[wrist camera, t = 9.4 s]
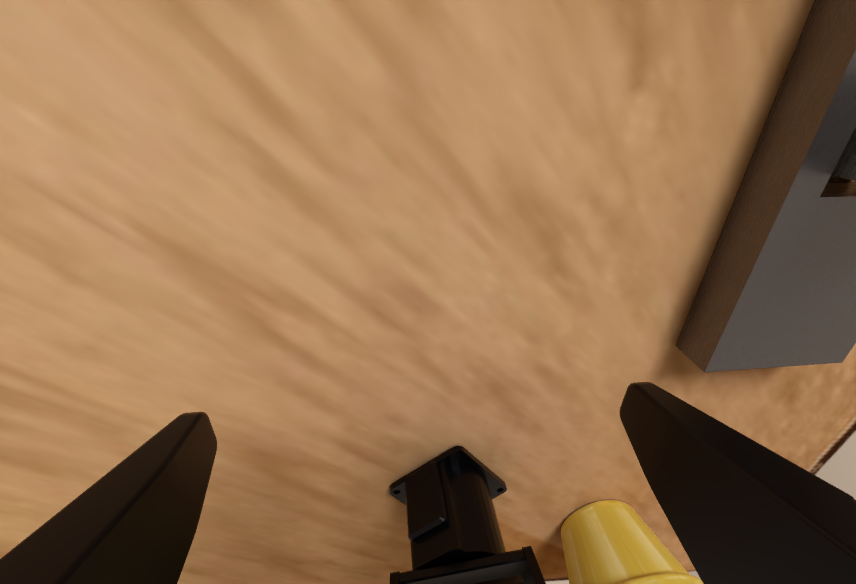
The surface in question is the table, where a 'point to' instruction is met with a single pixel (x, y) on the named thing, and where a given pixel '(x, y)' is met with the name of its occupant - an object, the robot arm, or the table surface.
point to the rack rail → (789, 222)
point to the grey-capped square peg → (847, 160)
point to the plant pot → (617, 548)
